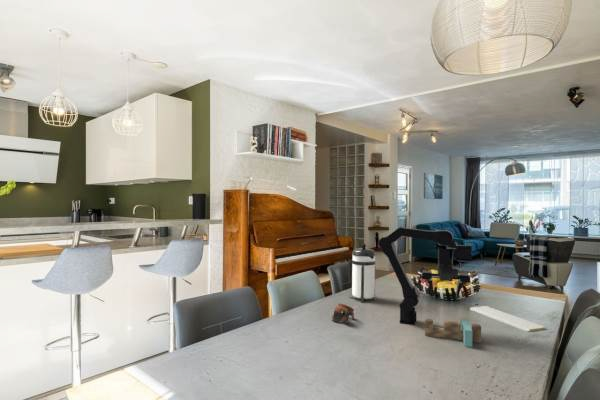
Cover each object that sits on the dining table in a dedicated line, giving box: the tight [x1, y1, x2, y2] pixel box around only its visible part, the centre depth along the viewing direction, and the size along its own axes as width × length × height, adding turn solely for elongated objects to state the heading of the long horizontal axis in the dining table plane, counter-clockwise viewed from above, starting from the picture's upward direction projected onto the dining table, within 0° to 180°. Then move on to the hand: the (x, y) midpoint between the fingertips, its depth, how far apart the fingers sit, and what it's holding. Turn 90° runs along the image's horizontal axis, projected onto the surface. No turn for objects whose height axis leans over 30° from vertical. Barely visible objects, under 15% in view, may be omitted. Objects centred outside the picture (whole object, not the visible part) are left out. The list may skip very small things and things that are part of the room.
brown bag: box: [331, 303, 355, 324], centre depth 154 cm, size 12×10×8 cm
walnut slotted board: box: [424, 318, 482, 344], centre depth 136 cm, size 20×2×6 cm, turn 71°
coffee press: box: [347, 243, 378, 303], centre depth 190 cm, size 17×16×30 cm
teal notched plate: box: [460, 317, 473, 348], centre depth 134 cm, size 14×2×6 cm, turn 161°
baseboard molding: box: [467, 303, 547, 332], centre depth 160 cm, size 31×3×12 cm
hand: (444, 296), depth 147 cm, fingers open, 9 cm apart
